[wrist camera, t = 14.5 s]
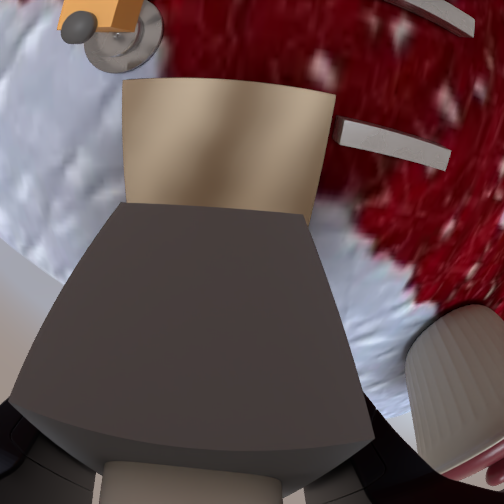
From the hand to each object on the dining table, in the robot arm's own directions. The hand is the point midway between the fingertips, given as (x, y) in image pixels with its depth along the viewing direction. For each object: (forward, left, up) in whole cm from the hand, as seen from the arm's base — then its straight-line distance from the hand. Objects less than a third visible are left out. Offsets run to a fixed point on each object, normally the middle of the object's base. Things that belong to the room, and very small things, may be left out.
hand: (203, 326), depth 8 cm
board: (0, 0, -12) cm, 12 cm away
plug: (0, 0, -2) cm, 2 cm away
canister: (-28, +16, -12) cm, 34 cm away
